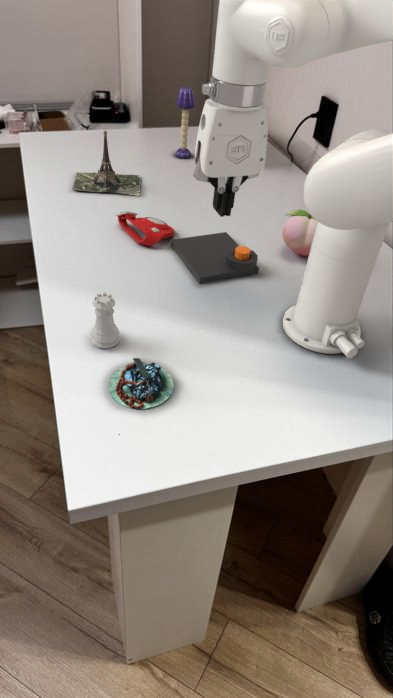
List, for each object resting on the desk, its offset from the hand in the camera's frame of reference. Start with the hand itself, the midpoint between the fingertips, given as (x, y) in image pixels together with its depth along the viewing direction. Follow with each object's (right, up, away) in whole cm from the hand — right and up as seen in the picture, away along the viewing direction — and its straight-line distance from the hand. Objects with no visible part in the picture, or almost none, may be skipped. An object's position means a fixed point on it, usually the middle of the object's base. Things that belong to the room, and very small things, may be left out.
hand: (222, 212), depth 87 cm
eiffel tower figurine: (-25, +16, +37) cm, 47 cm away
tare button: (+4, -5, +11) cm, 13 cm away
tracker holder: (-14, +1, +21) cm, 25 cm away
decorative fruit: (+17, -4, +19) cm, 26 cm away
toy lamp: (-8, +28, +54) cm, 61 cm away
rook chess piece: (-18, -21, -6) cm, 28 cm away
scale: (-1, -5, +15) cm, 16 cm away
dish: (-12, -28, -12) cm, 33 cm away
